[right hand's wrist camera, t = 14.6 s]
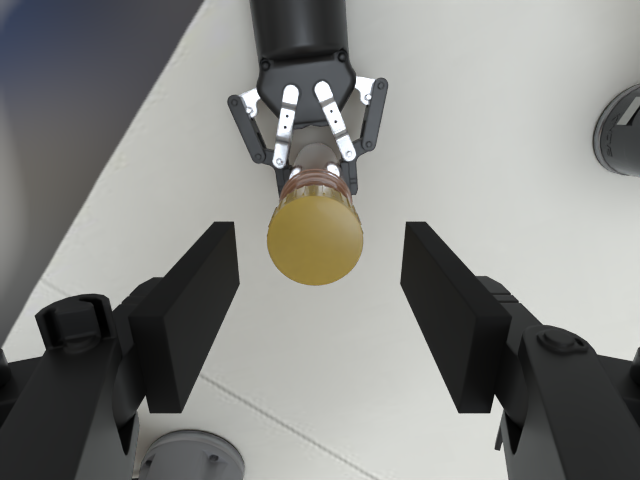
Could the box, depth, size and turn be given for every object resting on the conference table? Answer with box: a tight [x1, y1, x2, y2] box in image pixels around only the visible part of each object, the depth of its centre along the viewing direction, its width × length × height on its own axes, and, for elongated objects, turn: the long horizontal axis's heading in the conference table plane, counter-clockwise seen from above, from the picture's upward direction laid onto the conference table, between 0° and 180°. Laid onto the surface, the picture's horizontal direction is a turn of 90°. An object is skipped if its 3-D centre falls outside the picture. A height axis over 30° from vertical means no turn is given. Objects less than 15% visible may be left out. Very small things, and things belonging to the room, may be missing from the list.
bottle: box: [279, 143, 352, 205], centre depth 27 cm, size 5×5×24 cm
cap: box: [267, 185, 363, 285], centre depth 17 cm, size 4×4×2 cm
